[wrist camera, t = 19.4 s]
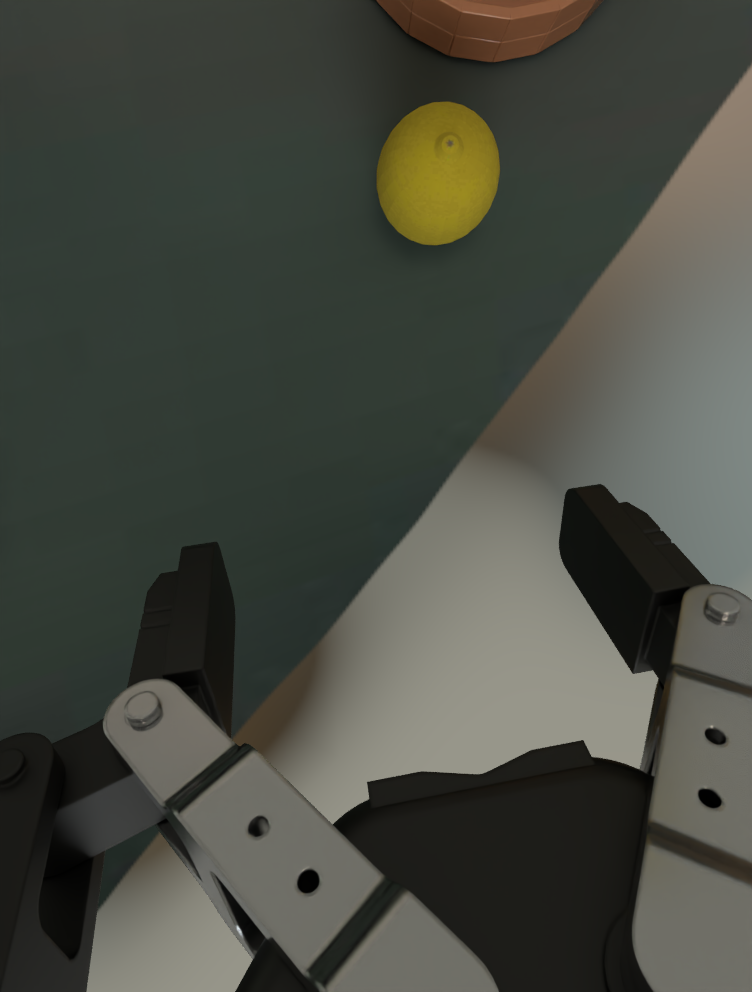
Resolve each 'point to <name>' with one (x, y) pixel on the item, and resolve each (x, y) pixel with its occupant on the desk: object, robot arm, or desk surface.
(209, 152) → the desk surface
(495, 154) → the lemon
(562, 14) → the pan
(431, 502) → the desk surface
